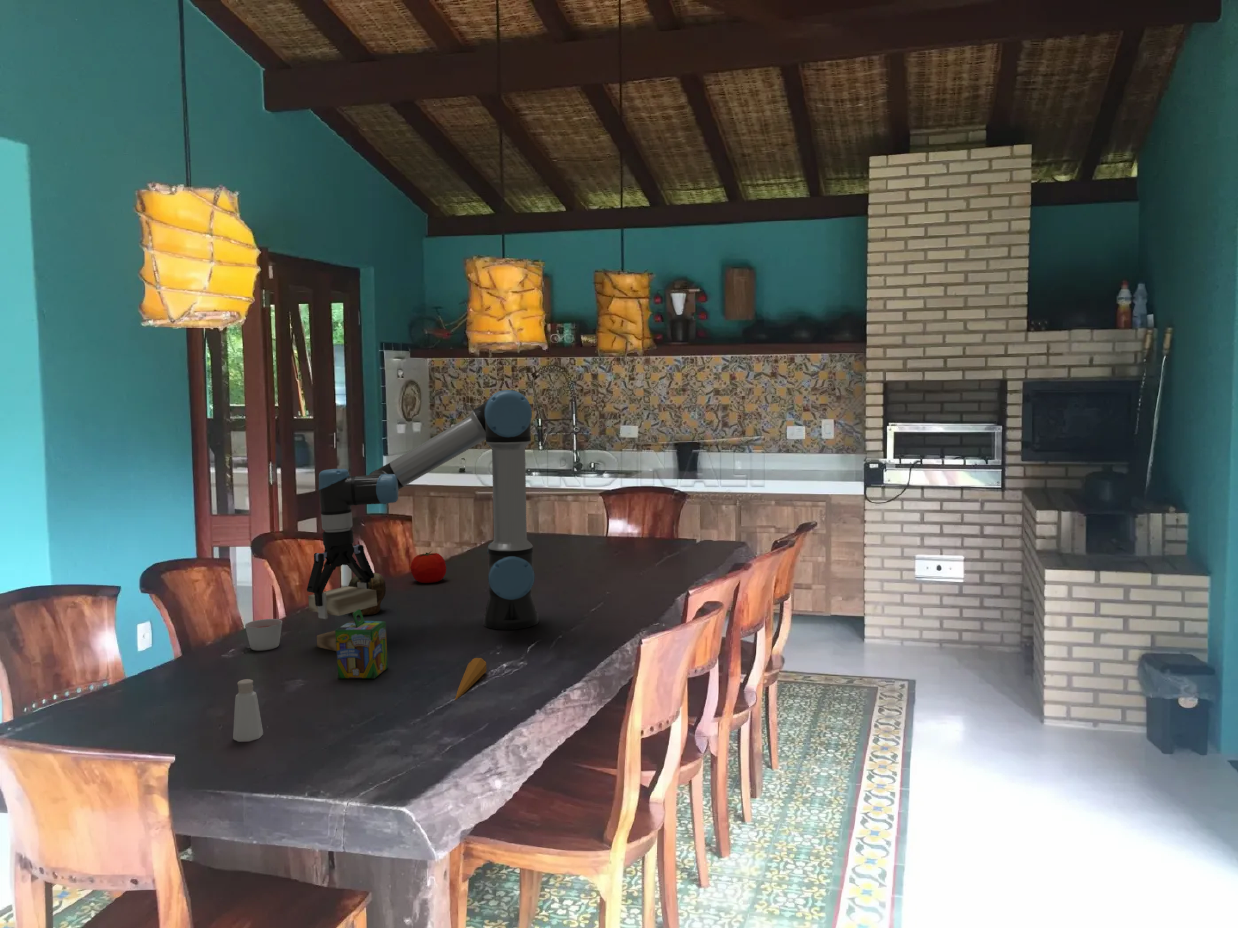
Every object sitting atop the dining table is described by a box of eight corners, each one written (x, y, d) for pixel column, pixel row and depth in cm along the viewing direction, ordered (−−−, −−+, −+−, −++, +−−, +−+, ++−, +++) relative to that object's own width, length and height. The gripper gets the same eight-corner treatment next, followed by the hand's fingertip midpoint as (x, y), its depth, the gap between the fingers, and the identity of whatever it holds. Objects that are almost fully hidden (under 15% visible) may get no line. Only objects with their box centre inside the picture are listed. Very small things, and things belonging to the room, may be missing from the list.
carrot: (475, 676, 224) (466, 658, 223) (492, 669, 223) (484, 652, 223) (449, 713, 205) (440, 694, 204) (468, 706, 204) (459, 687, 203)
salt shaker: (226, 740, 183) (223, 683, 183) (247, 730, 188) (244, 675, 188) (249, 743, 182) (246, 686, 181) (269, 733, 187) (266, 677, 186)
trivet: (368, 643, 250) (367, 632, 250) (339, 651, 243) (339, 640, 243) (345, 638, 255) (345, 627, 255) (317, 646, 248) (316, 635, 248)
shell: (376, 617, 278) (375, 576, 277) (341, 616, 280) (339, 575, 279) (392, 609, 289) (391, 569, 288) (358, 607, 291) (357, 568, 290)
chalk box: (374, 679, 219) (372, 615, 218) (336, 679, 221) (333, 615, 219) (389, 667, 229) (386, 606, 227) (352, 667, 230) (349, 605, 229)
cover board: (377, 605, 250) (376, 590, 249) (339, 615, 240) (338, 600, 240) (347, 600, 257) (346, 586, 256) (309, 610, 247) (308, 595, 247)
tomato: (444, 577, 334) (443, 548, 333) (449, 584, 323) (448, 553, 322) (408, 580, 330) (407, 550, 329) (412, 587, 319) (411, 556, 318)
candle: (282, 650, 246) (281, 625, 245) (244, 653, 243) (243, 628, 243) (284, 641, 254) (283, 617, 254) (247, 644, 252) (246, 620, 251)
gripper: (365, 521, 259) (371, 600, 260) (287, 536, 239) (294, 621, 241) (384, 523, 254) (390, 603, 256) (306, 538, 235) (313, 625, 237)
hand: (343, 612), depth 249 cm, fingers closed on cover board, 12 cm apart
